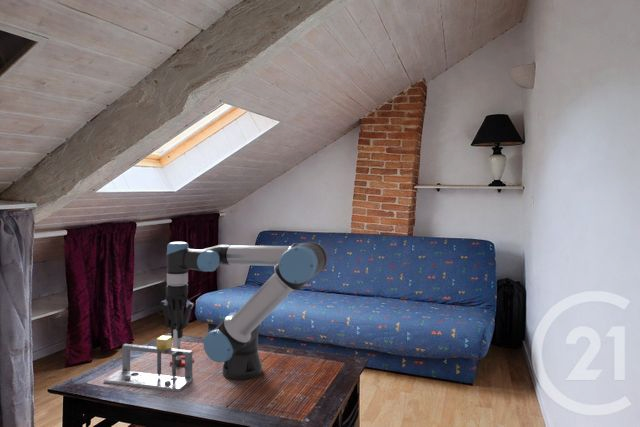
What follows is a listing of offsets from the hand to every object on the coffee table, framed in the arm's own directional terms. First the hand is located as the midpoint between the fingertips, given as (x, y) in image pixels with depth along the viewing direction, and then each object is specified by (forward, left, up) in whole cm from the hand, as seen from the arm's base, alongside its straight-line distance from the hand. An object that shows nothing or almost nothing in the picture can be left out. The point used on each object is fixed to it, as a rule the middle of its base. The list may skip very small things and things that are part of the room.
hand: (176, 345), depth 174 cm
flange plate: (+8, +6, -12) cm, 16 cm away
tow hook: (+5, -14, -12) cm, 19 cm away
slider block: (+5, +1, -11) cm, 12 cm away
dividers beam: (+8, +2, -12) cm, 15 cm away
